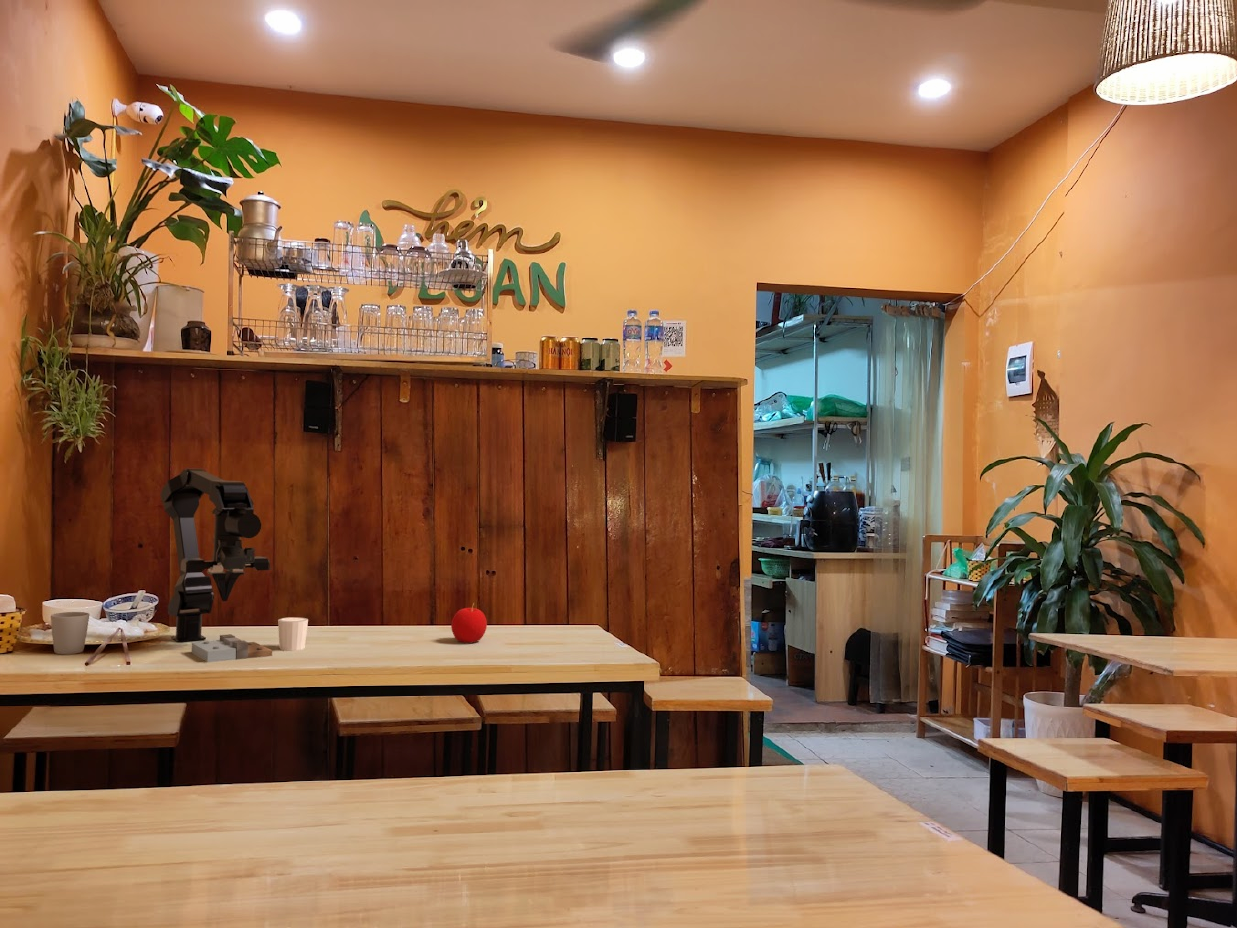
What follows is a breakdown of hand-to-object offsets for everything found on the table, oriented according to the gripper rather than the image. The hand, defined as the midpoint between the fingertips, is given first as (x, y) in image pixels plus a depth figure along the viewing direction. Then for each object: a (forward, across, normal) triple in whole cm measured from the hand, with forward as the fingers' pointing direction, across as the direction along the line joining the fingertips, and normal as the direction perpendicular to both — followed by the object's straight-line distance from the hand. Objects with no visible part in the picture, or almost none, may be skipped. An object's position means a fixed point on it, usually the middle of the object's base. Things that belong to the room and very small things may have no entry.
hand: (224, 601), depth 221 cm
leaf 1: (+11, -2, -6) cm, 13 cm away
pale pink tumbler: (+12, +15, -5) cm, 19 cm away
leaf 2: (+11, +4, -6) cm, 13 cm away
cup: (+12, -29, +14) cm, 35 cm away
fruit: (+11, +56, -16) cm, 60 cm away
